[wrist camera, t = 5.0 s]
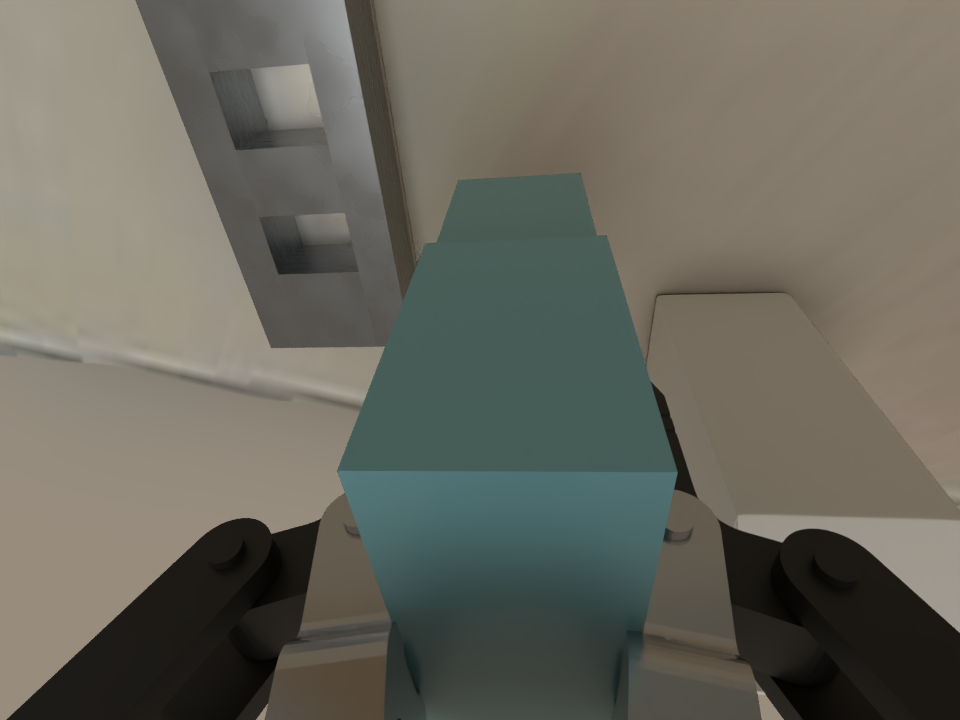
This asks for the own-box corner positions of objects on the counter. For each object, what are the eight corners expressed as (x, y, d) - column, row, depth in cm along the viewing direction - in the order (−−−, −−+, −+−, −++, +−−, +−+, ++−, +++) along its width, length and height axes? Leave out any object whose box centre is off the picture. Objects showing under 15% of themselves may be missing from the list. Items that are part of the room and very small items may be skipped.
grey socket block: (172, -63, 21) (108, -69, 18) (358, -84, 20) (325, -95, 17) (297, 310, 32) (271, 348, 29) (423, 307, 31) (410, 346, 28)
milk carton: (655, 293, 29) (783, 637, 14) (788, 290, 28) (1076, 653, 13) (641, 389, 33) (727, 734, 18) (756, 389, 33) (947, 750, 17)
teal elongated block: (453, 172, 12) (337, 470, 5) (585, 163, 12) (677, 471, 4) (480, 424, 17) (443, 766, 9) (575, 423, 16) (611, 778, 9)
